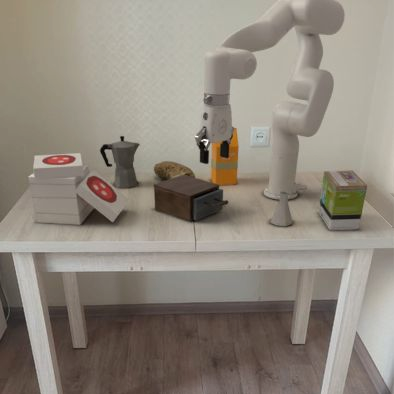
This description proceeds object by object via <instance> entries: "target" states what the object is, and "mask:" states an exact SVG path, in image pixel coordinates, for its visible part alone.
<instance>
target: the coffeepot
mask: <svg viewBox="0 0 394 394" xmlns="http://www.w3.org/2000/svg"><path fill="white" fill-rule="evenodd" d="M119 139H120V140H119V141H115V142H111V143H105V144H102V146H101V147H100V149H99V152H100V154H101V157H102V159H103V161H104V164H105V165H106V167H108V168H112V167H113V163H114V164H115V169H114V170H115V171H114V184H113V185H114V186H115V187H116V188H121V189H130V188H134V187H136V186H137V185H138V179H137V174H136V170H135V167H134V163H135V154H136V153H137V150H138V148H139V147H140V146H141V144H140V143H139V142H133V141H132V142H131V141H128V140H127V141H126V140H125V135H120V136H119ZM107 150H110V151H111V153H112V158H113V163H110V162H109V159H108V157H107V153H106V151H107Z"/></svg>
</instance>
